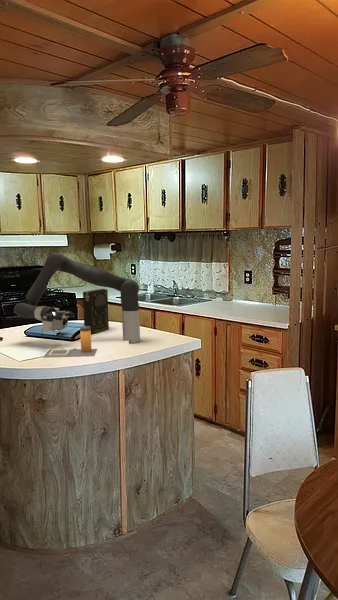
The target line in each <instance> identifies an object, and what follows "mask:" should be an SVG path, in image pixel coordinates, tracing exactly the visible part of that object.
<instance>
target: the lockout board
mask: <svg viewBox="0 0 338 600" xmlns="http://www.w3.org/2000/svg"><path fill="white" fill-rule="evenodd" d="M91 350H92V351H91V352H81V348H77V347H76V348H75V347H74V348H70V349H66V348H61V349H54V348H50V349H48V351H47V352H46V353H45V354H44V355H43V356H42V358H43V359H45V358H48V359H49V358H80V357H86V358H87V357H95V355H96V353H97V352H98V348H91Z"/></svg>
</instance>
